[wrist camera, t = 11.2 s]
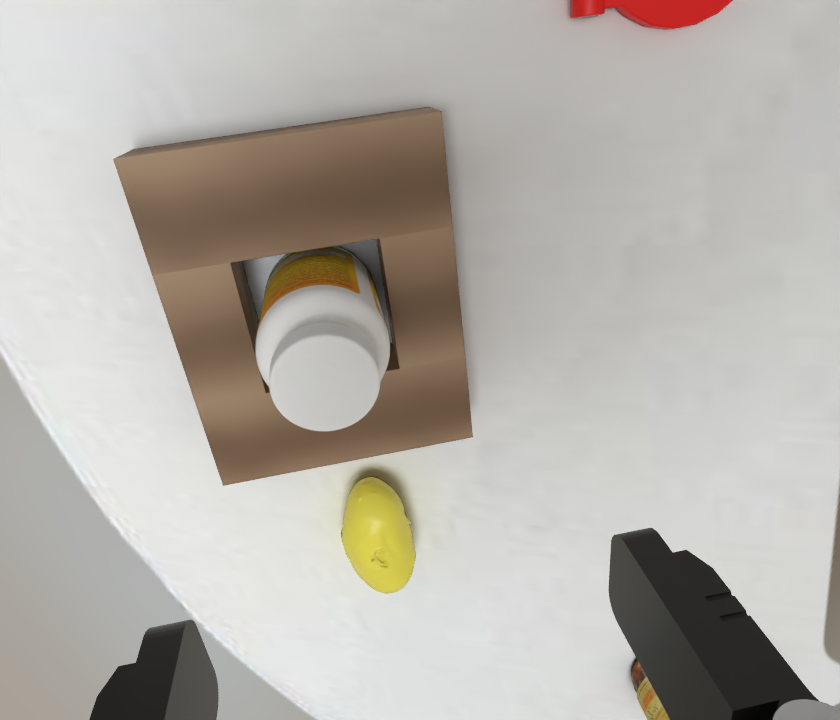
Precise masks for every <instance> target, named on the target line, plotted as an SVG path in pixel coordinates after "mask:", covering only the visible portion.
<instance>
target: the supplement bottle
mask: <svg viewBox="0 0 840 720" xmlns="http://www.w3.org/2000/svg"><path fill="white" fill-rule="evenodd" d="M255 349H256V360H257V364H258V367H259V371H260V373H261V375H262V377H263V379H264V381H265V382H266V384H267V385H268V386H269V390H270V394H271V397H272V400H273V402H274V404H275V406H276V407H277V409H278V410H279V412H280V413H281V414H282V415H283V416H284V417H285V418H286V419H288V420H289V421H290V422H292V423H294V424H296V425H298V426H300V427H302V428H305V429H309V430H313V431H335V430H339V429H342V428H346V427H348V426H350V425H353V424H354V423H356V422H358V421H359V420H360V419H362V418H363V417H364V416H365V415H366V414H367V413H368V412H369V411H370V409H371V408H372V407H373V405H374V403H375V401H376V399H377V397H378V393H379V389H380V381H381V379H382V378H383V376H384V374H385V371H386V369H387V366H388V362H389V357H390V341H389V334H388V330H387V326H386V323H385V320H384V316H383V313H382V309H381V306H380V302H379V298H378V295H377V291H376V288H375V285H374V282H373V279H372V277H371V275H370V273H369V271H368V270H367V268H366V267H365V265H364V264H363V263H362V262H361V261H360V260H359V259H358V258H357V257H356V256H354V255H353V254H352V253H350V252H348V251H346V250H344V249H342V248H339V247H336V246H330V247H324V248H318V249H312V250H305V251H299V252H293V253H288V254H287V255H286V256H284V257H283V258H282V259H281V260H280V261H279V262H278V263H277V264H276V266H275V267H274V269H273V270H272V272H271V274H270V276H269V279H268V282H267V285H266V290H265V295H264V300H263V305H262V311H261V316H260V321H259V326H258V331H257V336H256V348H255Z"/></svg>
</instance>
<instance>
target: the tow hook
mask: <svg viewBox="0 0 840 720" xmlns="http://www.w3.org/2000/svg"><path fill="white" fill-rule="evenodd" d="M731 1H732V0H571V18H577V19H579V18H587V17H594V16H598V15H601V14H603V13H604V9H607V8H614V7H616V8H617V9H618V10H619V11H620V12H621V13H622V15H623V16H625V17H627V18H629V19H631V20H633V21H635V22H637V23H638V24H640V25H642V26H646V27H653V28H660V29H674V28H679V27H684V26H689V25H695V24H697V23H699V22H701V21H703V20H705V19H707V18H709V17H711V16H713V15H715V14H717V13H719V12H720V11H721V10H722V9H723V8H724V7H725V6H727V5H728V4H729V3H730V2H731Z"/></svg>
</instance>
